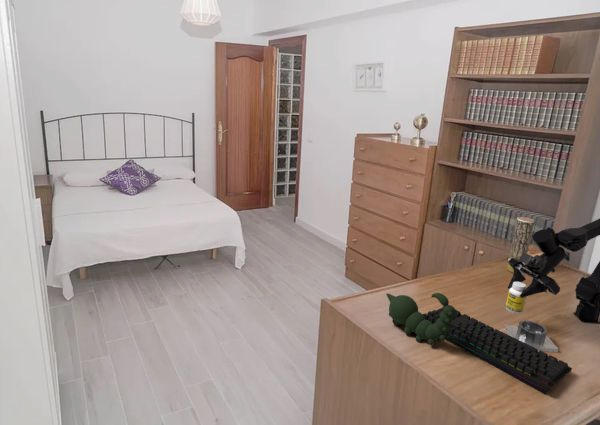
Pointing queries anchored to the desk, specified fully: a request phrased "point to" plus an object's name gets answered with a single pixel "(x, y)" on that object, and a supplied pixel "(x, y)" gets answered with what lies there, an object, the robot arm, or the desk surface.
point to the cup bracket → (532, 335)
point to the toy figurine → (421, 318)
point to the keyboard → (504, 352)
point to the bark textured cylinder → (520, 239)
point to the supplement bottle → (516, 298)
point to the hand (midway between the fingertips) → (514, 292)
